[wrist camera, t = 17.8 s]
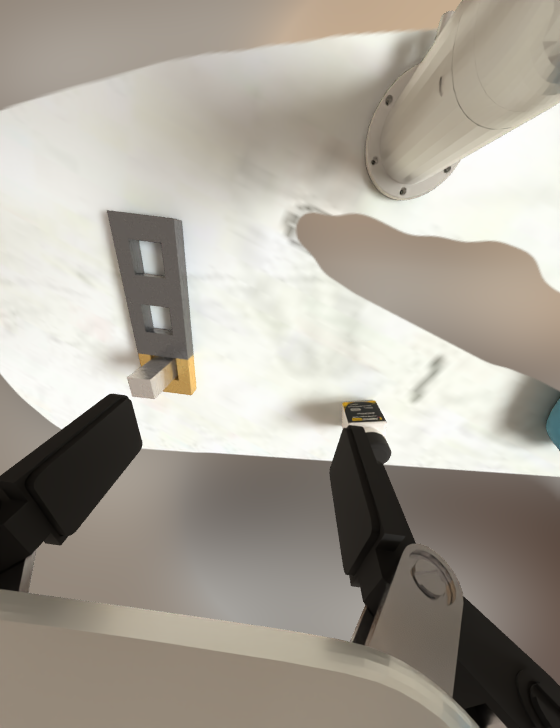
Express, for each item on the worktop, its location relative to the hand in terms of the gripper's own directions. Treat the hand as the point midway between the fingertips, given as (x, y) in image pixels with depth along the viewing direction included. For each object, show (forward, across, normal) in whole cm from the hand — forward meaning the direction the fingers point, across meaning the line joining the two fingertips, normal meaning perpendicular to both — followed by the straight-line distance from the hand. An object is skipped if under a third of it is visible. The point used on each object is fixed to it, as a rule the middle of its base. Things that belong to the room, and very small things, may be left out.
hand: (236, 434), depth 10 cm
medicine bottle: (+32, -20, +23) cm, 45 cm away
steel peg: (+32, +22, +16) cm, 42 cm away
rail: (+32, +22, +6) cm, 40 cm away
